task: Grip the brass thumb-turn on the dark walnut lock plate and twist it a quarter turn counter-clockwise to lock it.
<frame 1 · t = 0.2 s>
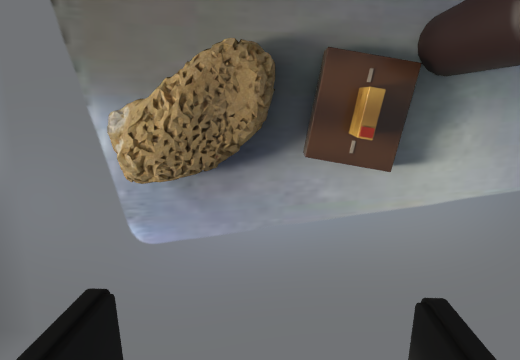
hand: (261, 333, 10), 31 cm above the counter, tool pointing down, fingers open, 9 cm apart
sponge: (202, 113, 39), on the counter
bottle: (446, 45, 36), on the counter
thumbturn: (366, 113, 33), point 5 cm above the counter, hinge at 0.0°
lock plate: (354, 110, 38), on the counter
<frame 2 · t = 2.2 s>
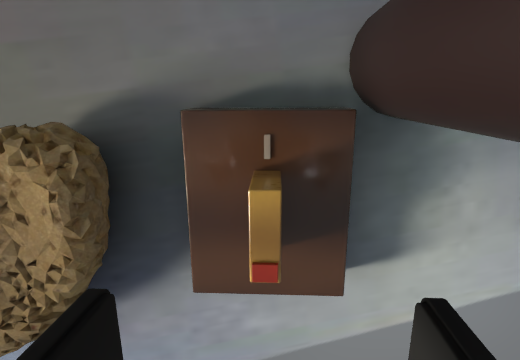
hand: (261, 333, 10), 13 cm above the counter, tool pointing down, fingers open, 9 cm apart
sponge: (32, 234, 24), on the counter
bottle: (401, 61, 20), on the counter
thumbturn: (266, 223, 17), point 5 cm above the counter, hinge at 0.0°
lock plate: (268, 194, 22), on the counter
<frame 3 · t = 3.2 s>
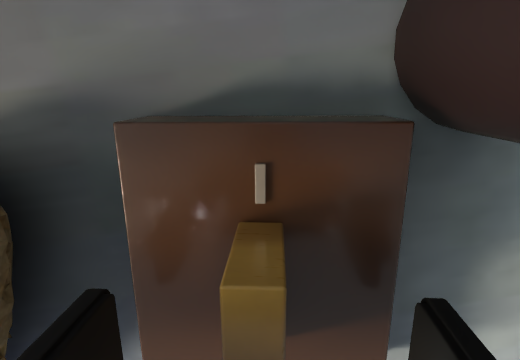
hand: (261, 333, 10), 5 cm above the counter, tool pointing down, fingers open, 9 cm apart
bottle: (477, 42, 12), on the counter
thumbturn: (257, 322, 10), point 5 cm above the counter, hinge at 0.0°
lock plate: (264, 246, 15), on the counter
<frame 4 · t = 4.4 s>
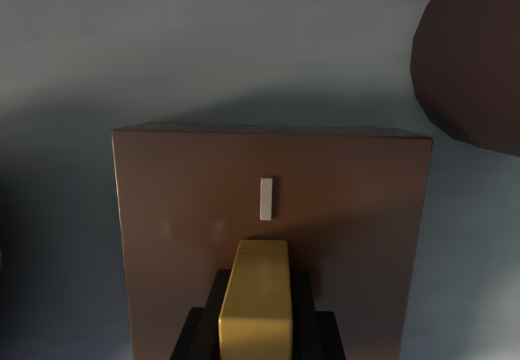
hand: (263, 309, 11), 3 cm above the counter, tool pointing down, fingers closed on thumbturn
bottle: (497, 54, 12), on the counter
thumbturn: (260, 350, 9), point 5 cm above the counter, hinge at 1.5°, touching gripper
lock plate: (266, 261, 14), on the counter
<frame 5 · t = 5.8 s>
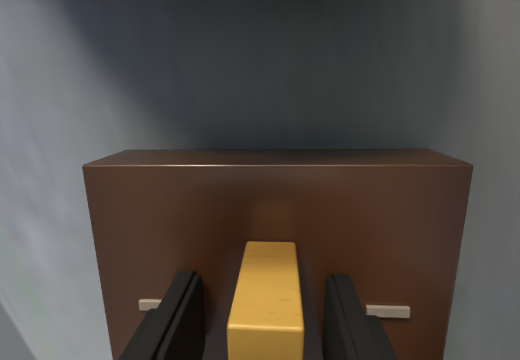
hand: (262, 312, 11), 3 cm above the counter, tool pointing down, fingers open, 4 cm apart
thumbturn: (268, 356, 9), point 5 cm above the counter, hinge at 89.6°
lock plate: (272, 262, 14), on the counter
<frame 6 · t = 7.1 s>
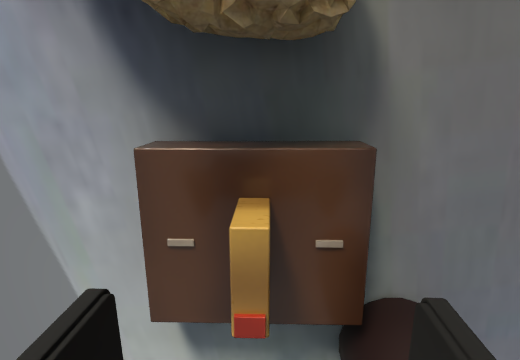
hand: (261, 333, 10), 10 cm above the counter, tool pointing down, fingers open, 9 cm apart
bottle: (386, 336, 22), on the counter
thumbturn: (252, 262, 15), point 5 cm above the counter, hinge at 89.6°
lock plate: (256, 221, 20), on the counter
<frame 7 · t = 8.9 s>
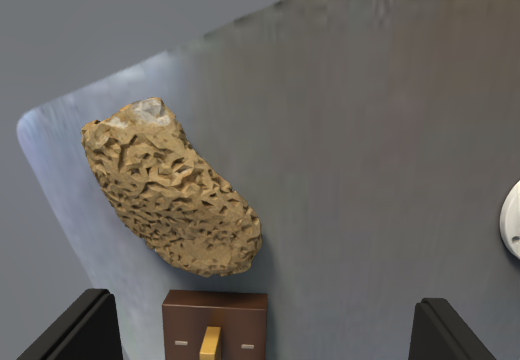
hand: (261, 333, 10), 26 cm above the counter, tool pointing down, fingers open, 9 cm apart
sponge: (187, 187, 36), on the counter
thumbturn: (210, 359, 35), point 5 cm above the counter, hinge at 89.6°
lock plate: (218, 326, 40), on the counter
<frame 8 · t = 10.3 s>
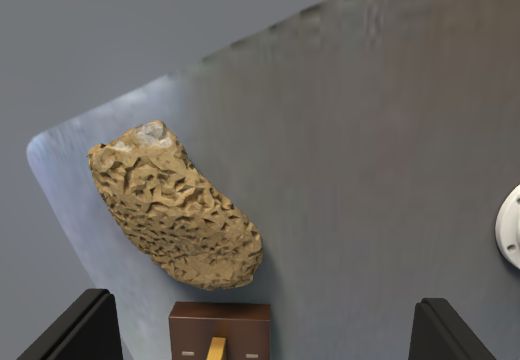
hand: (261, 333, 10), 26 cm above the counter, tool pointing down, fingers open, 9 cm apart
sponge: (190, 203, 37), on the counter
lock plate: (224, 336, 41), on the counter
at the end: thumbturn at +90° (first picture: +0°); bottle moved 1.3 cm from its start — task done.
